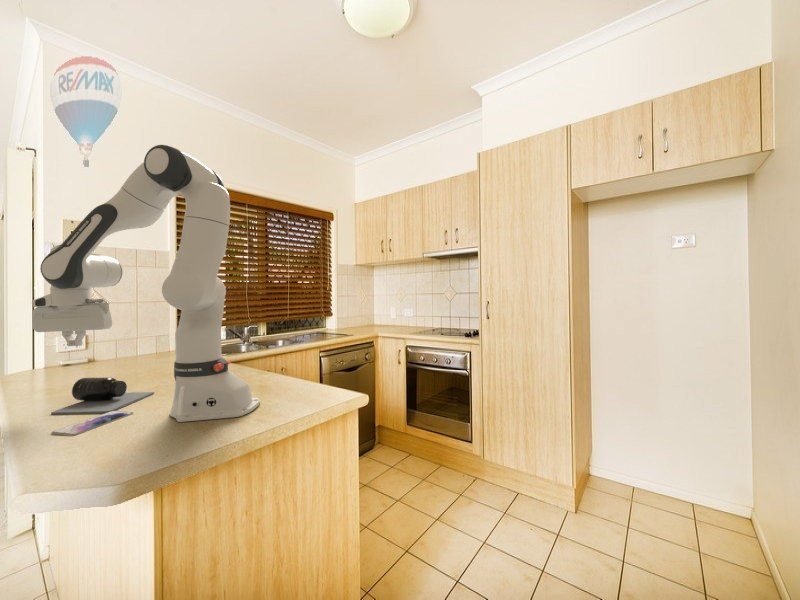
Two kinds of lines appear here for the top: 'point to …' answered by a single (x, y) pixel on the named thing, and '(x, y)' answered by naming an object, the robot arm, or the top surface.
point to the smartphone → (91, 423)
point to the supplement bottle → (98, 389)
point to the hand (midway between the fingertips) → (74, 345)
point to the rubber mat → (103, 404)
